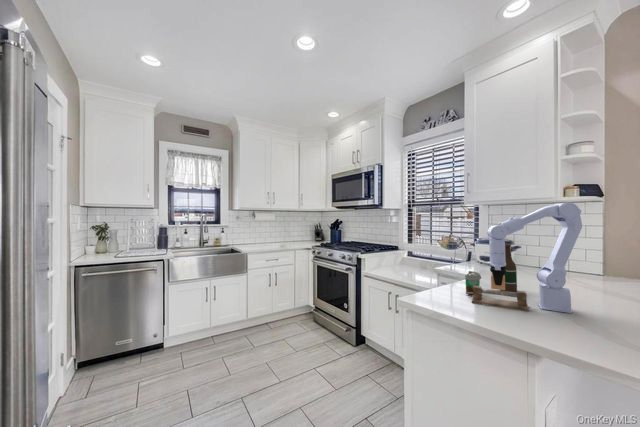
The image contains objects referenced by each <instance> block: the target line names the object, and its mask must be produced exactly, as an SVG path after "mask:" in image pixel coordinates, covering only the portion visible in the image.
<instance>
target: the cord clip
mask: <svg viewBox="0 0 640 427" xmlns="http://www.w3.org/2000/svg"><path fill="white" fill-rule="evenodd" d="M490 286H491V287H490V288H491V290H500V291H501V290H505V275H503V279H502V285H501V286H499V285H495V282H494V278H493V275H492V273H491V274H490Z"/></svg>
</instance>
